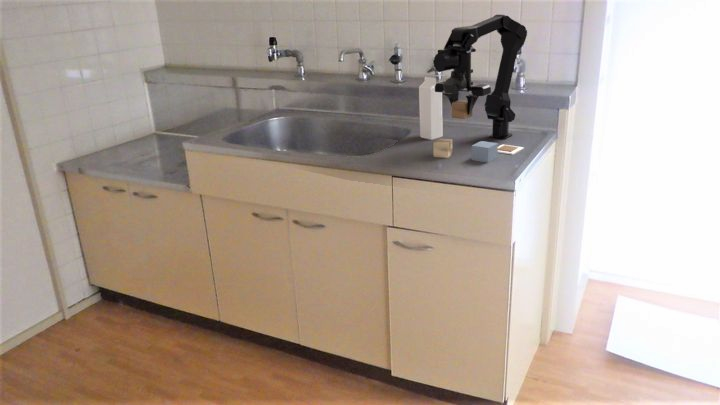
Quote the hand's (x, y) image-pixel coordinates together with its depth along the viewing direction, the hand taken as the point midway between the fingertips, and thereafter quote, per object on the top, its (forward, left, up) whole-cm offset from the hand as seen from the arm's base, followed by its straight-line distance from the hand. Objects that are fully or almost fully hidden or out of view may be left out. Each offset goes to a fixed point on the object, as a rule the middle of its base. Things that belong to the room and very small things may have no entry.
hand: (462, 113), depth 204 cm
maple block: (+10, -1, -12) cm, 16 cm away
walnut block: (0, 0, -1) cm, 1 cm away
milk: (-7, -17, -12) cm, 22 cm away
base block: (+7, +13, -12) cm, 19 cm away
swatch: (-5, +15, -12) cm, 20 cm away
